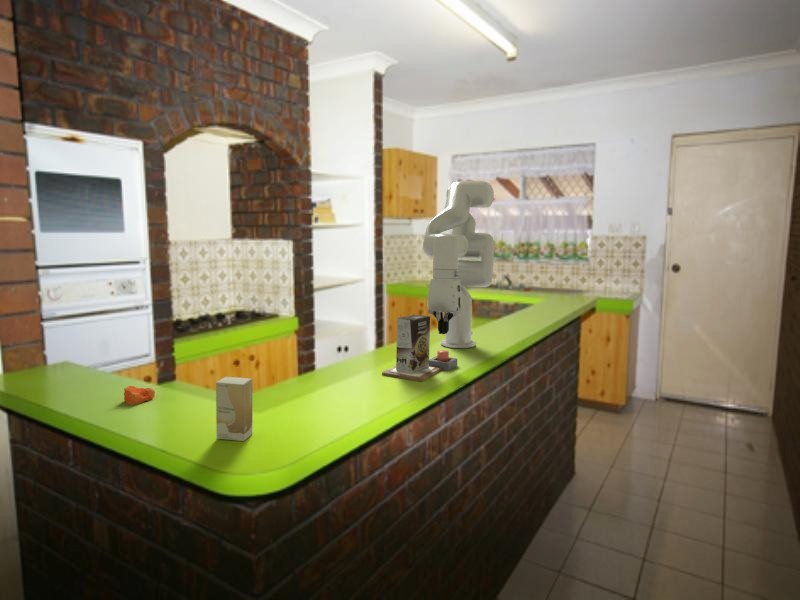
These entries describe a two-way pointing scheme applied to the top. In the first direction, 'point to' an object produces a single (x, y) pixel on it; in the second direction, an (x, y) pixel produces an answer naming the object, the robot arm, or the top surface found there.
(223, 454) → the top surface
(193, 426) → the top surface
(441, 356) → the button
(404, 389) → the top surface
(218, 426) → the skincare box
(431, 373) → the board
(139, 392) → the rock
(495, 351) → the top surface
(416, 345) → the coffee box
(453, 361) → the button collar
